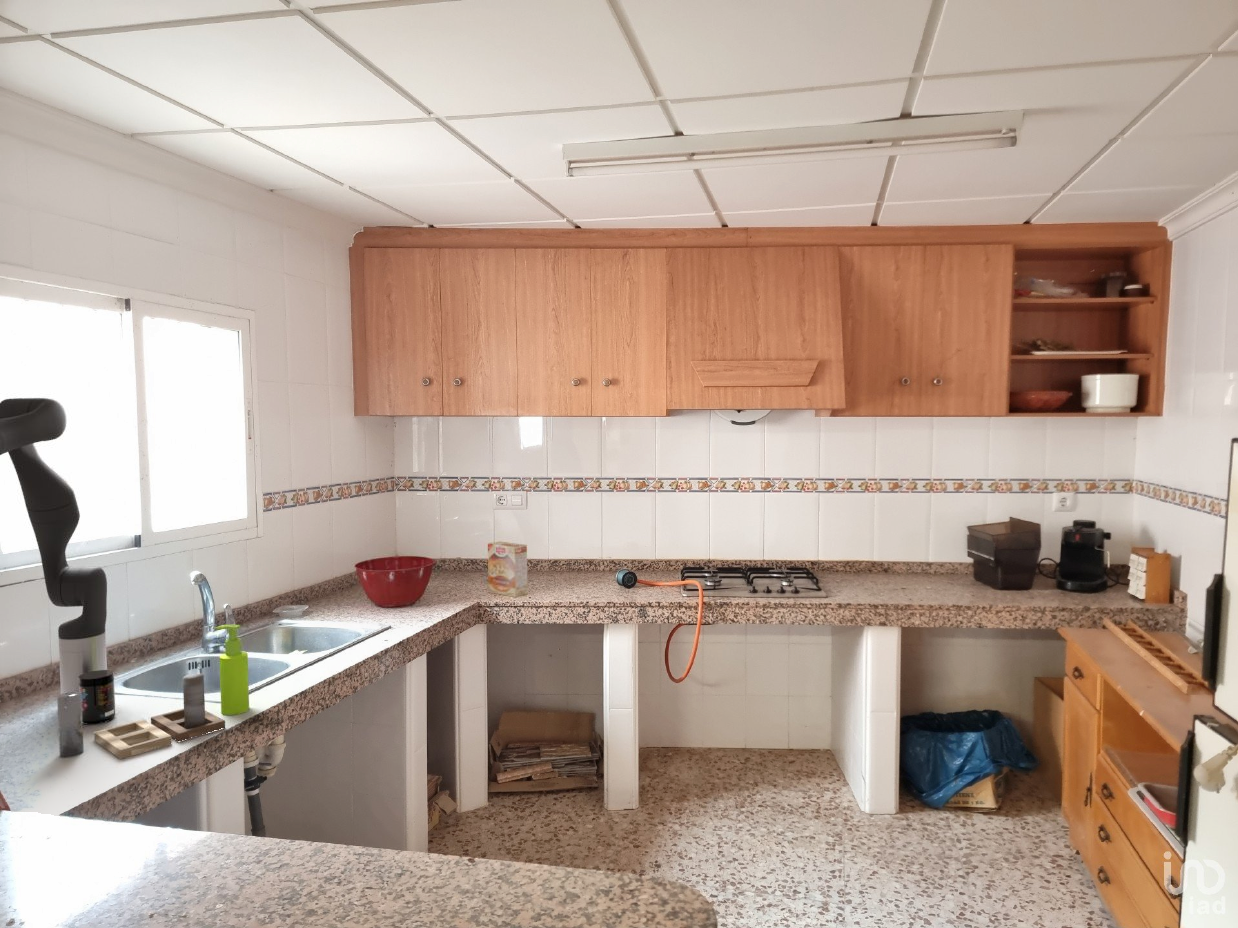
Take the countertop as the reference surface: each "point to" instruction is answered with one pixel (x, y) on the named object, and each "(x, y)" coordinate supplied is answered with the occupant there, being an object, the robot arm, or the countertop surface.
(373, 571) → the mixing bowl
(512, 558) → the coffeecake box
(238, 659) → the soap dispenser
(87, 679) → the supplement container
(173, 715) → the pattern plate
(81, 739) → the pin
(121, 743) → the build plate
